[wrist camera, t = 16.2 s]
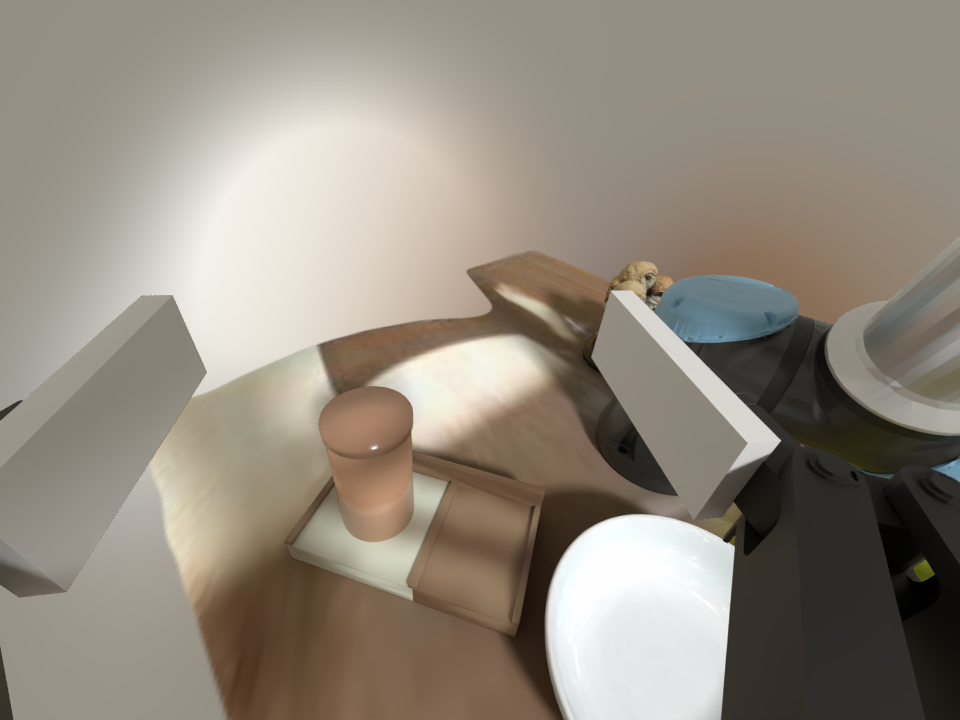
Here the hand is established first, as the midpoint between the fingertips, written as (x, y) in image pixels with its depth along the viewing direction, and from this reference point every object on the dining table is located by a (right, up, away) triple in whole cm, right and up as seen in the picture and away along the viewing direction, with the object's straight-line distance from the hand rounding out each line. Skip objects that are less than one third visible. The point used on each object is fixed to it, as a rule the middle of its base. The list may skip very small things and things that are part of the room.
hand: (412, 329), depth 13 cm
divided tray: (-4, -19, +28) cm, 34 cm away
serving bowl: (+17, -27, +20) cm, 38 cm away
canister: (-8, -16, +27) cm, 32 cm away
